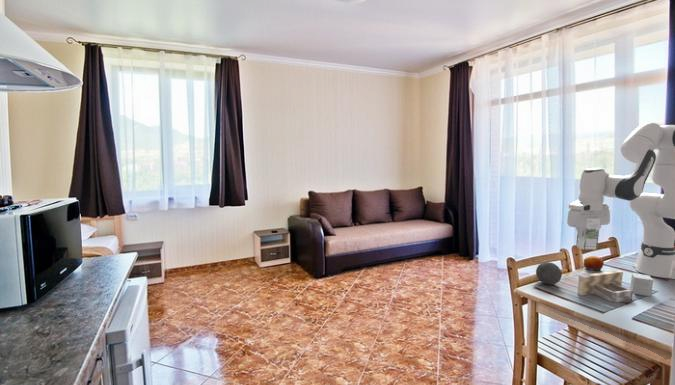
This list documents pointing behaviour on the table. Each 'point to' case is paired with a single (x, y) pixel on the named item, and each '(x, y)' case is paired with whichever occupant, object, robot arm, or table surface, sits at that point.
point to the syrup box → (589, 235)
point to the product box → (641, 284)
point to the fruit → (593, 263)
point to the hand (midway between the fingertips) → (587, 235)
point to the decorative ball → (548, 273)
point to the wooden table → (605, 286)
